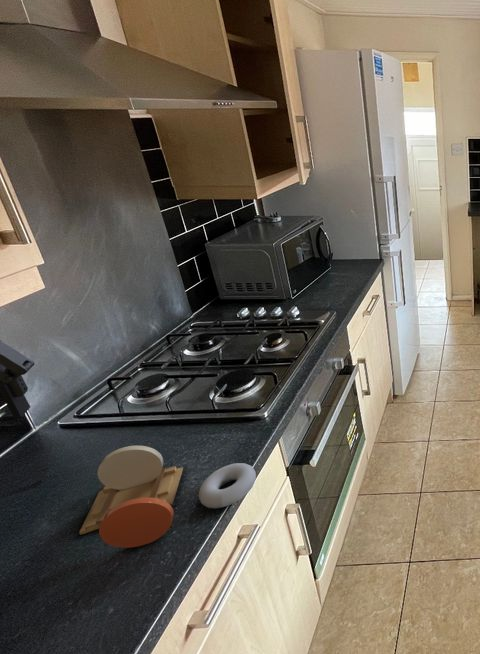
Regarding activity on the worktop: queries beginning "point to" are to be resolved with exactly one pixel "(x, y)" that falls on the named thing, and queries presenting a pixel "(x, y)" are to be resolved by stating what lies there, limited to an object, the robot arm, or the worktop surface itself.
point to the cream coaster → (130, 467)
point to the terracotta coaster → (136, 522)
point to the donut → (223, 497)
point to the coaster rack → (132, 496)
